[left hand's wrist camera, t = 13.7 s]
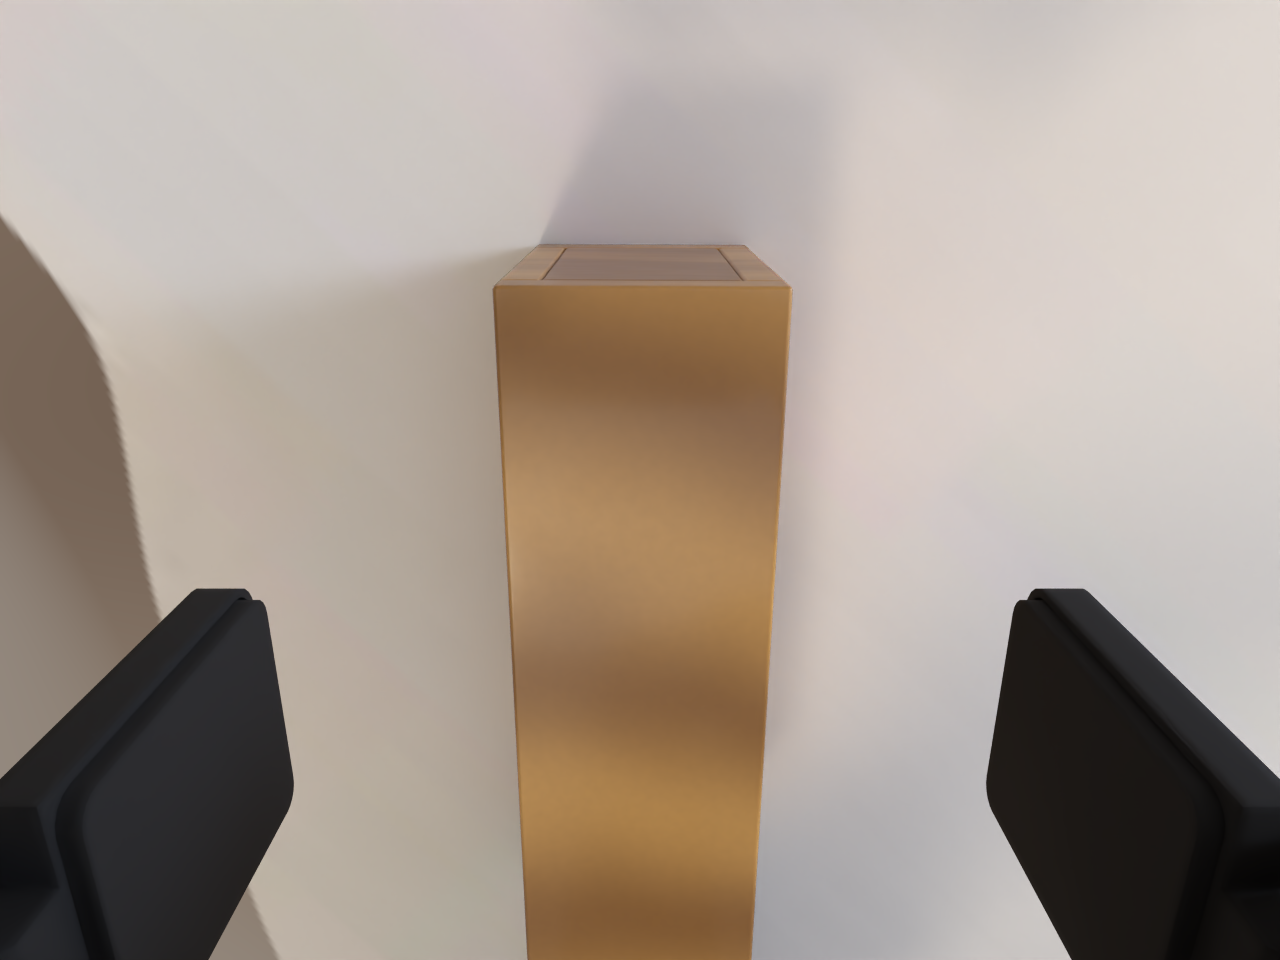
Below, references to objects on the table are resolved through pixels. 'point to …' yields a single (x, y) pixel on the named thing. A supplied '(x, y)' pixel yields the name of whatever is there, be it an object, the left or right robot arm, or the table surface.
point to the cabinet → (641, 587)
